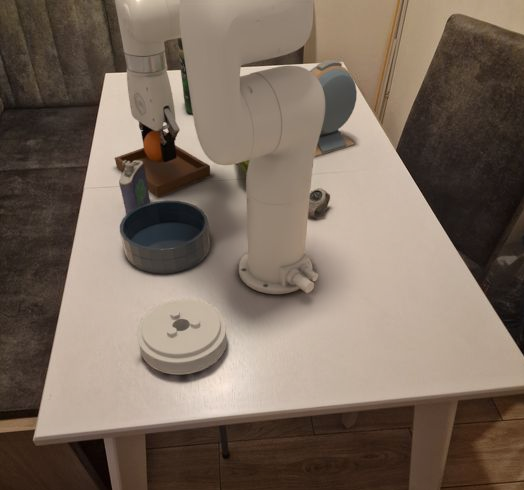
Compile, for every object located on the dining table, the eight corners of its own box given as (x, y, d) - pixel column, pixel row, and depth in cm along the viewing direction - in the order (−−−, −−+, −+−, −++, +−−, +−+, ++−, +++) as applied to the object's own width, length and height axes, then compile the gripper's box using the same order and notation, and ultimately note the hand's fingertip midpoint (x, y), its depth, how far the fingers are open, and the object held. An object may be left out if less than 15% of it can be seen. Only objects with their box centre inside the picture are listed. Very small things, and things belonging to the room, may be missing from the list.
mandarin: (181, 161, 105) (178, 131, 100) (156, 170, 102) (151, 140, 97) (165, 151, 108) (160, 121, 103) (140, 159, 105) (135, 130, 100)
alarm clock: (332, 128, 122) (341, 49, 109) (357, 143, 117) (370, 62, 104) (286, 142, 117) (289, 60, 104) (309, 158, 112) (316, 74, 98)
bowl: (226, 249, 88) (225, 225, 84) (155, 285, 81) (150, 261, 77) (178, 214, 95) (175, 191, 92) (109, 244, 88) (103, 221, 85)
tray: (210, 176, 106) (209, 165, 104) (158, 197, 100) (156, 186, 98) (167, 149, 114) (166, 139, 112) (116, 168, 108) (114, 157, 106)
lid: (134, 378, 67) (127, 354, 64) (148, 316, 76) (142, 291, 72) (225, 378, 67) (223, 355, 64) (229, 316, 76) (227, 291, 72)
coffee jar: (183, 102, 133) (174, 23, 119) (212, 100, 134) (206, 21, 120) (186, 116, 127) (177, 34, 113) (216, 114, 128) (211, 33, 114)
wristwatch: (302, 216, 95) (304, 193, 91) (319, 203, 98) (321, 180, 95) (317, 222, 94) (319, 199, 90) (334, 209, 97) (337, 186, 93)
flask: (138, 227, 92) (127, 174, 84) (124, 226, 92) (111, 173, 85) (153, 202, 98) (143, 150, 90) (139, 201, 99) (128, 149, 91)
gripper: (105, 53, 93) (124, 145, 106) (154, 78, 85) (168, 174, 98) (138, 45, 97) (153, 135, 110) (189, 68, 88) (198, 163, 101)
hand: (160, 153), depth 104 cm, fingers closed on mandarin, 6 cm apart
